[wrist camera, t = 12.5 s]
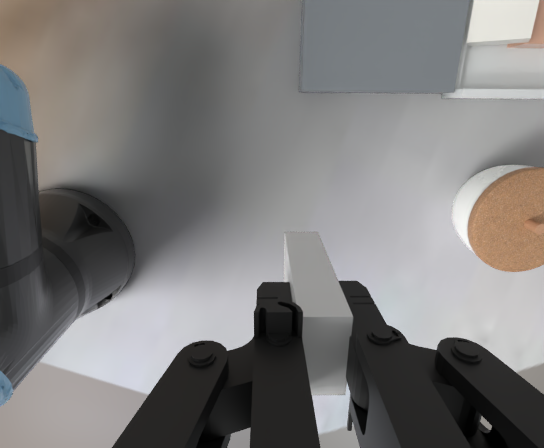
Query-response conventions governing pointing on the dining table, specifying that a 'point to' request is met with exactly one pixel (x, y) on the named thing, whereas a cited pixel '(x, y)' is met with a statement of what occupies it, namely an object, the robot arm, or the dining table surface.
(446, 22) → the board
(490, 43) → the tile
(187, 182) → the dining table surface
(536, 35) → the tile
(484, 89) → the tray
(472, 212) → the lidded jar
